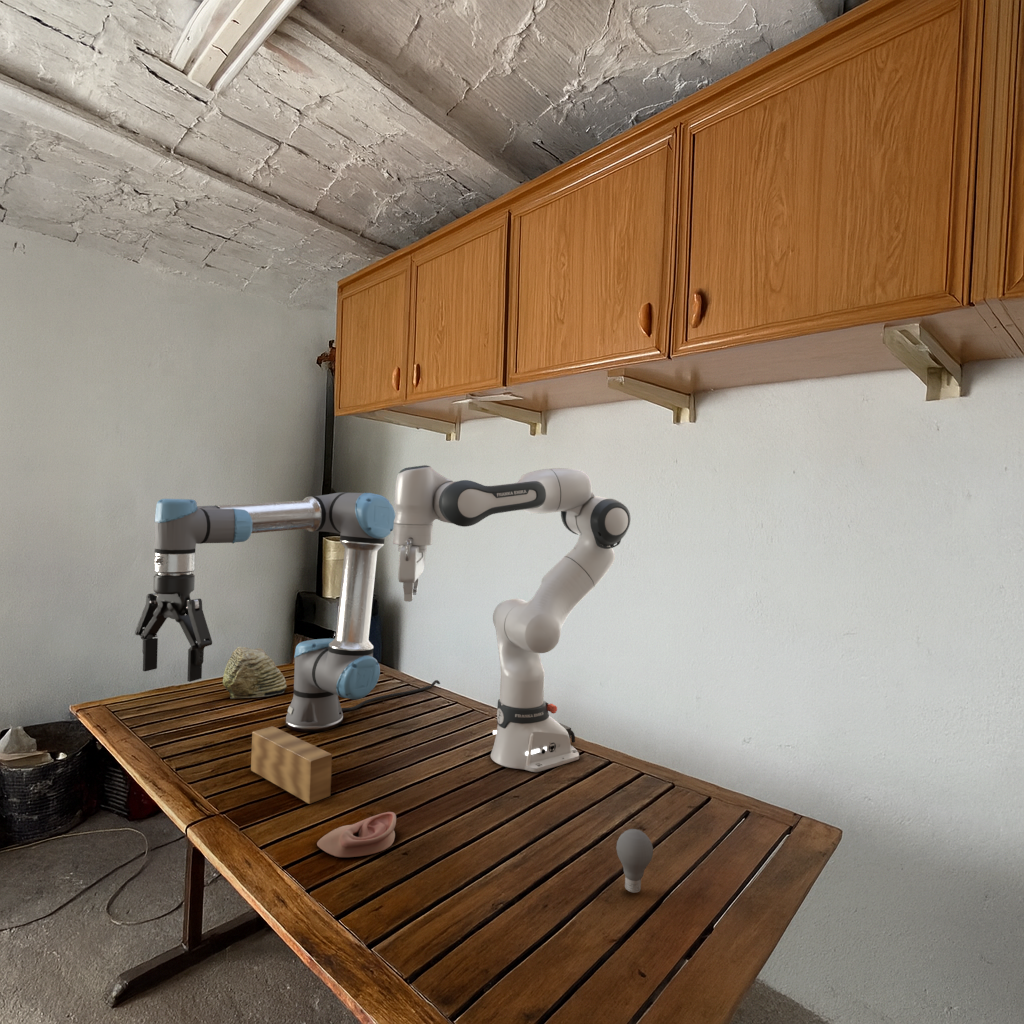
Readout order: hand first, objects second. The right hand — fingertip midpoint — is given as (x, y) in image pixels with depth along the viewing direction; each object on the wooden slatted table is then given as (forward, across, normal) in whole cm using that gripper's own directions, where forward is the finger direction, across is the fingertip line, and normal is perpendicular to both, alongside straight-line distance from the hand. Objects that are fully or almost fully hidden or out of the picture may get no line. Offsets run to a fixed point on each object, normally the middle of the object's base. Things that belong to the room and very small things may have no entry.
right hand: (410, 597), depth 144 cm
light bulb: (+42, -41, -43) cm, 72 cm away
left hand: (+16, -10, +48) cm, 51 cm away
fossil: (+41, +56, +54) cm, 88 cm away
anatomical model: (+41, -27, +5) cm, 50 cm away
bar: (+41, -4, +25) cm, 48 cm away
